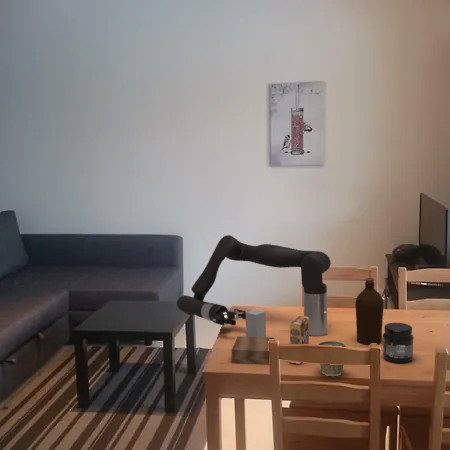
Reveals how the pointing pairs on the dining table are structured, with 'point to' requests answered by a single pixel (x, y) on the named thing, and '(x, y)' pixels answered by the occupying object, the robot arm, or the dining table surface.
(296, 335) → the candy box
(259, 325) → the grey block
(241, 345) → the walnut plinth
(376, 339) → the olive oil
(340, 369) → the ceramic cup
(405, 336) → the supplement container
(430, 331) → the dining table surface
